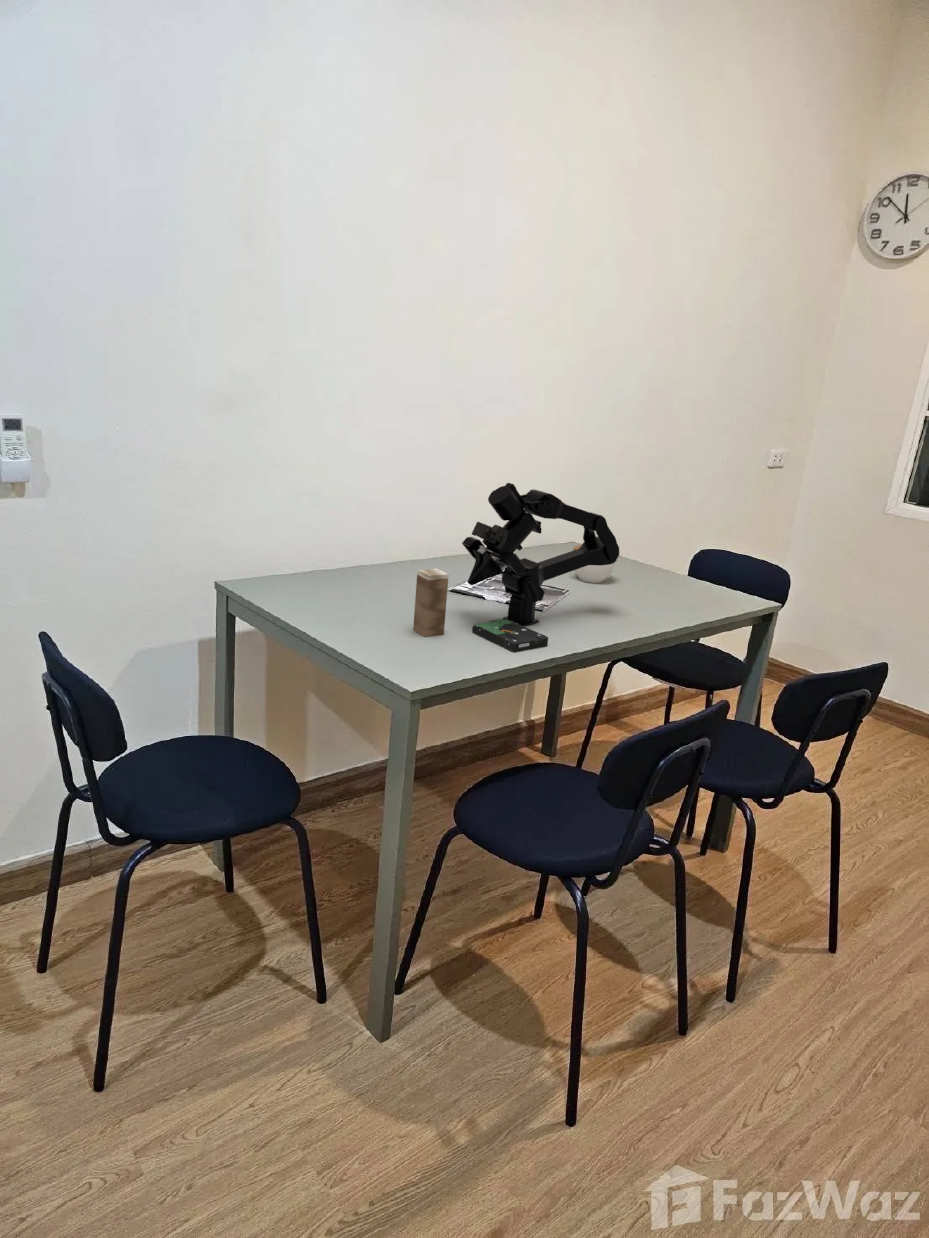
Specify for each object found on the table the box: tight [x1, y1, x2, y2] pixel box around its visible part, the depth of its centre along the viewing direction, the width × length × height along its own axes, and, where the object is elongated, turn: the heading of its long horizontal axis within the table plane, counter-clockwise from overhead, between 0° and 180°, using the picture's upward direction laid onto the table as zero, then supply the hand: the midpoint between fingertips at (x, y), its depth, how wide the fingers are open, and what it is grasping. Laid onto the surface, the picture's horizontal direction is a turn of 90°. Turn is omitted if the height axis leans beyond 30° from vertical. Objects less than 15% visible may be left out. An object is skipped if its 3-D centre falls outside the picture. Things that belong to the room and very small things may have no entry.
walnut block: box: [412, 568, 450, 638], centre depth 189 cm, size 5×5×14 cm
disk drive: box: [471, 618, 549, 654], centre depth 191 cm, size 10×3×15 cm
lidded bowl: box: [573, 544, 616, 584], centre depth 249 cm, size 13×13×11 cm
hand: (469, 583), depth 193 cm, fingers closed
